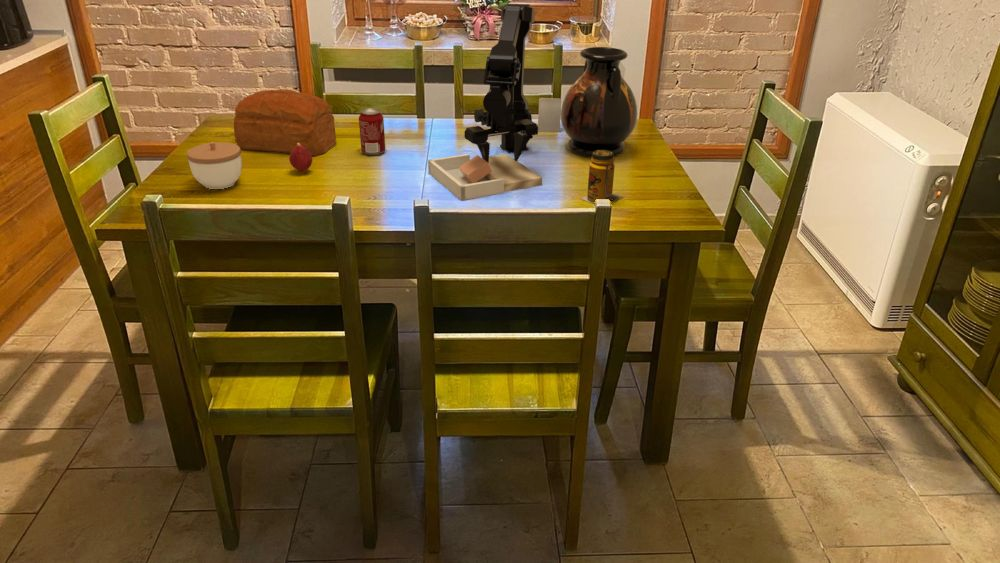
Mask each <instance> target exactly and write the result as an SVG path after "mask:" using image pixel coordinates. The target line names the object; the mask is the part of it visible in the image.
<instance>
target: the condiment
mask: <svg viewBox="0 0 1000 563" xmlns="http://www.w3.org/2000/svg"><path fill="white" fill-rule="evenodd" d="M614 157H615V156H614V154H613V153H612V152H611V151H608V150H596V151H594V152H593V153H592V157H590V158H591V159H590V163H589V169H588V180H587V195H586V196H583V197H581V198H580V200H581V201H585V202H587V203H588V202H589V203H591V204H594V202H595V200H596V199H609V200H610V201H611V202H612V203H614V202H616V201H617V200H620V199H621V198H623V197H624V195H619V194H617V193H616V194H615V193H613V188H614V179H615V177H614V176H615V163H614V162H615V158H614Z"/></svg>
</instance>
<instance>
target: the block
mask: <svg viewBox="0 0 1000 563" xmlns="http://www.w3.org/2000/svg"><path fill="white" fill-rule="evenodd" d="M459 169H460V171H461V173H462V175H463V176H464V177H465V178H466V179H467V180H468V181H470V182H471V183H476V182H477V181H478V180H480V179H481V178H483V177H484V176H486V175H487V174H489V173H490V172H492V170H491V168H490V166H489V164H488V162H487V161H485V160H484V159H483V158H482V156H481V155H479V154H477V155H475V156H473V157H471V158H470V160H469V161H468V162H466V163H465V164H463V165H462V166H460V167H459Z"/></svg>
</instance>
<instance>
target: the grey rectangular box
mask: <svg viewBox="0 0 1000 563" xmlns="http://www.w3.org/2000/svg"><path fill="white" fill-rule="evenodd" d="M561 109H562V98H556V97H555V98H554V97H551V98H548V97H539V98H538V114H537V115H538V116H537V117H538V118H537V126H538V133H561V132H560V131H561Z"/></svg>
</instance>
